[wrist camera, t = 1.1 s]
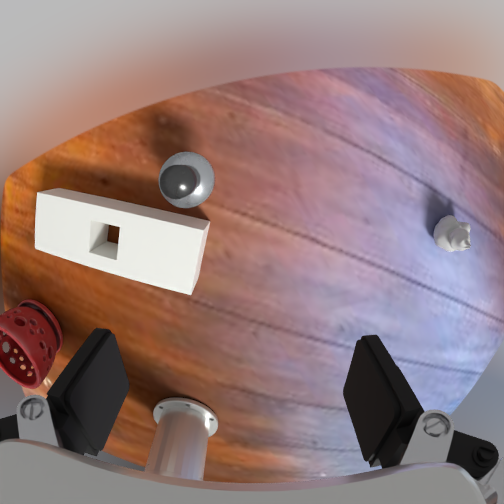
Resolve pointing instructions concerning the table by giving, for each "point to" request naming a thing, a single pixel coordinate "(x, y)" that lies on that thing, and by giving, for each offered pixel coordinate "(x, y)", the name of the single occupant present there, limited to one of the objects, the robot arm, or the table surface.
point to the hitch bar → (122, 238)
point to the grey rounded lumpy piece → (452, 234)
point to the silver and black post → (186, 179)
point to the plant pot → (29, 342)
